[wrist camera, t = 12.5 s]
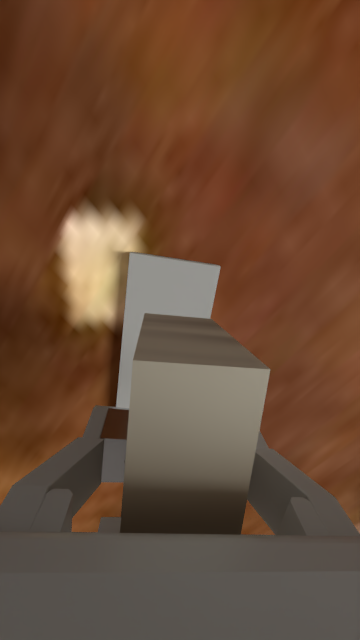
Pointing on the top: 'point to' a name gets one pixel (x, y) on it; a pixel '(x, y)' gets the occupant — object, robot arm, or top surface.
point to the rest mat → (161, 301)
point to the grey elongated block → (189, 429)
